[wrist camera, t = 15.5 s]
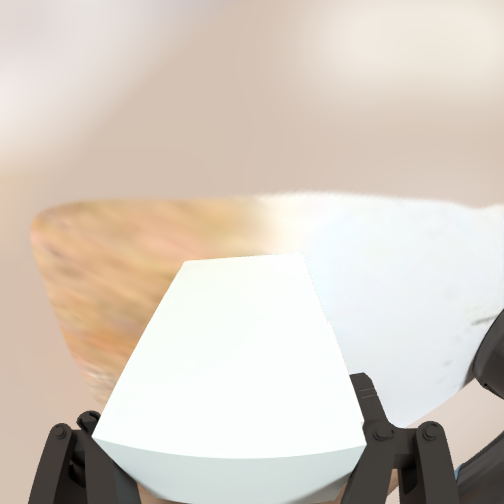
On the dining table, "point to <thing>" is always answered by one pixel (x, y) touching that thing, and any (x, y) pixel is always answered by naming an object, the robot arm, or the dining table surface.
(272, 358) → the white stepped block
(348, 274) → the dining table surface
